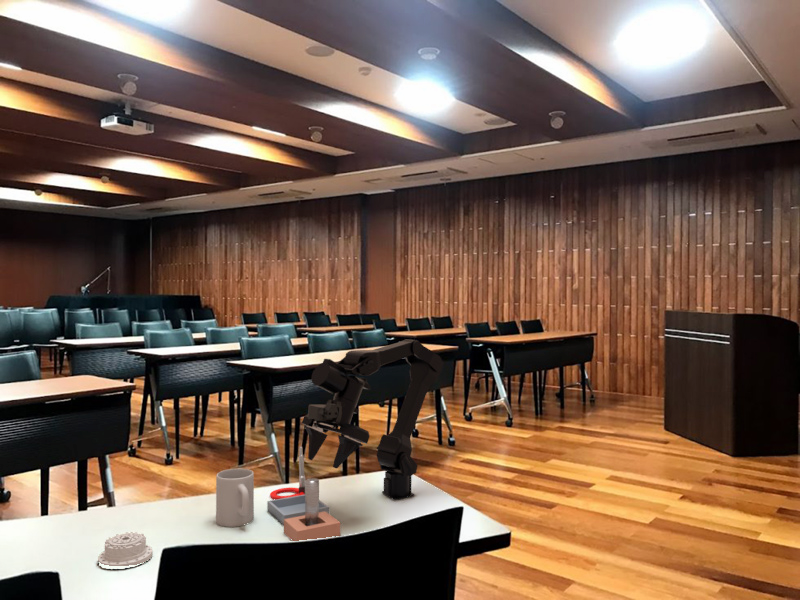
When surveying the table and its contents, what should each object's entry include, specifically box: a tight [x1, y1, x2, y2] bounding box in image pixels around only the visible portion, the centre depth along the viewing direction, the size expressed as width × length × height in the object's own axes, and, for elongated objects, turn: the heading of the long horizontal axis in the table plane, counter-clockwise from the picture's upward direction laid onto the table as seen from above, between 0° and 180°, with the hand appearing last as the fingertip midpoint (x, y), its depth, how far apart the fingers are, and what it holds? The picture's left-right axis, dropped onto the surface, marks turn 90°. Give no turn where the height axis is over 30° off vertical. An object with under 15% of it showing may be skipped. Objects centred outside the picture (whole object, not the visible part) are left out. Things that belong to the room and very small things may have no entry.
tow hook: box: [269, 446, 306, 500], centre depth 165 cm, size 8×13×9 cm
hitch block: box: [283, 511, 341, 542], centre depth 139 cm, size 10×8×3 cm
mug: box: [215, 468, 255, 528], centre depth 146 cm, size 12×8×11 cm
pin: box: [305, 477, 320, 526], centre depth 139 cm, size 3×3×12 cm
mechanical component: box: [97, 531, 154, 566], centre depth 126 cm, size 10×4×10 cm
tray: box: [266, 495, 330, 527], centre depth 151 cm, size 11×11×2 cm
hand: (322, 463), depth 148 cm, fingers open, 9 cm apart
